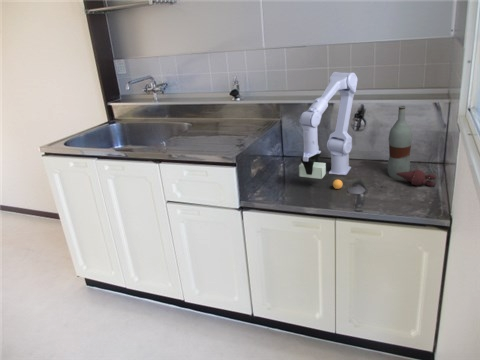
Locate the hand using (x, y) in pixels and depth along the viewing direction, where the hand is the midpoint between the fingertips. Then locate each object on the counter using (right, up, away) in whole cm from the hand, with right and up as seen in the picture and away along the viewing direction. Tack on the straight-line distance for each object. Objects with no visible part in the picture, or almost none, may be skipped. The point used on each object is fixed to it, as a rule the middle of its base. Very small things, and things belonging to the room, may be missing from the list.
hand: (311, 171), depth 168 cm
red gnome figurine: (+41, -6, -6) cm, 42 cm away
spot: (+17, -8, -6) cm, 20 cm away
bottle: (+38, -2, +4) cm, 38 cm away
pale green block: (0, -2, 0) cm, 2 cm away
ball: (+10, -5, -3) cm, 12 cm away
